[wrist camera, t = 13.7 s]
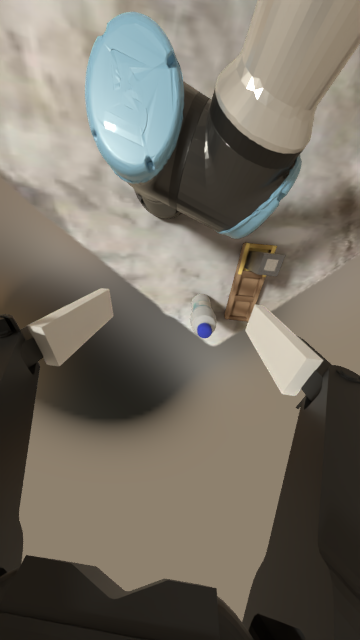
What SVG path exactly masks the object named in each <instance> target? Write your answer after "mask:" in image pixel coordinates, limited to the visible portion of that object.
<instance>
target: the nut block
mask: <svg viewBox="0 0 360 640" xmlns="http://www.w3.org/2000/svg"><path fill="white" fill-rule="evenodd" d="M284 258H285V255H281V254H274V253H267V252H258V251H249V252H248V256H247V259H246V262H245V266H244V268H246V269H248V270H250V271H252V272H254V273H256V274H258V275H268V276H277V275H278V273H279V270H280V268H281V265H282V263H283V260H284Z"/></svg>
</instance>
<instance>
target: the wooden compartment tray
mask: <svg viewBox="0 0 360 640" xmlns="http://www.w3.org/2000/svg"><path fill="white" fill-rule="evenodd" d="M276 248H277V246H273V245H262V244H252V243H243V246H242V250H241V254H240V258H239V261H238V265H237V269H236V273H235V277H234V280H233V284H232V288H231V292H230V296H229V299H228V303H227V307H226V311H225V314H224V316H225V319H230V320H239V321H248V322H249V319H250V316H251V313H252V311H253V308H254V305H255V304H256V302H257V299H258V296H259V293H260V291H261V288H262V285H263V283H264V280H265V277H266V275H258V274H256V273H254V272H252V271H250V270H248V269H246V268H244V266H245V262H246V259H247V256H248V252H249V251H258V252H267V253H275V251H276Z"/></svg>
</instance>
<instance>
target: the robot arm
mask: <svg viewBox="0 0 360 640" xmlns="http://www.w3.org/2000/svg"><path fill="white" fill-rule="evenodd" d="M359 44H360V0H258V1H257V4H256V8H255V11H254V14H253V17H252V20H251V24H250V27H249V30H248V33H247V36H246V40H245V43H244V46H243V49H242V51H241V53H240V54H239V55H238V56H237V57H236V58H235V59H234V60H233V61H232V62H231V63H230V64H229V65H228V66H227V67H226V68H225V69H224V70H223V71H222V72H221V73H220V74H219V76H218V79H217V82H216V86H215V90H214V94H213V97H212V100H211V99H210V98H208V97H206V96H205V95H203V94H202V93H200V92H199V91H197V90H196V89H194V88H193V87H191V86H190V85H188V84H187V83H185V82H184V81H183V77H182V73H181V69H180V65H179V63H178V61H177V58H176V55H175V53H174V50H173V48H172V45H171V43H170V41H169V39H168V38H167V36H166V34H165V33H164V32H163V30H162V29H161V28H160V26H159V25H158V24H157V23H156V22H155V21H154V20H152V19H151V18H150V17H148V16H146V15H143V14H141V13H137V12H126V13H122V14H120V15H118V16H116V17H115V18H113V19H112V20H111V21H110V22H108V23H107V27H106V31H105V33H104V34H103V35H102V36H98V37H97V39H96V41H95V43H94V45H93V48H92V51H91V54H90V57H89V61H88V66H87V72H86V82H85V100H86V110H87V116H88V121H89V125H90V129H91V132H92V135H93V137H94V140H95V142H96V144H97V147H98V149H99V151H100V153H101V155H102V156H103V158H104V159H105V161H106V162H107V163H108V164H109V165H110V167H111V168H112V170H113V171H114V172H115V174H116V175H118V176H119V177H120V178H121V179H122V180H124V181H126V182H127V183H128V184H129V185H131V186H132V187H133V188H134V190H135V193H136V195H137V197H138V199H139V201H140V202H141V204H142V205H143V206H144V208H145V209H146V210H147V211H149V212H150V213H151V214H153V215H155V216H157V217H160V218H173V217H175V216H177V215H179V214H181V213H183V214H185V215H187V216H189V217H191V218H193V219H194V220H196V221H198V222H200V223H202V224H204V225H206V226H208V227H210V228H212V229H214V230H215V231H216V232H217V233H220V234H224V235H227V236H229V237H231V238H235V239H238V238H243V237H245V236H247V235H249V234H250V233H252V232H253V231H254V230H256V229H257V228H258V227H259V226H260V225H261V224H262V223H263V222H264V221H265V220H266V219H267V218H268V217H269V216H270V215H271V214H272V213H273V212H274V211H275V209H276V208H277V207H278V205H279V202H280V200H281V199H282V198H283V197H285V196H286V195H287V193H288V192H289V190H290V189H291V187H292V186H293V184H294V182H295V181H296V179H297V177H298V174H299V172H300V169H301V163H302V161H301V158H300V153H301V152H302V151H303V149H304V148H305V147H306V145H307V144H308V143H309V141H310V138H311V133H312V127H313V120H314V114H315V111H316V108H317V105H318V104H319V102H320V101H321V99H322V98H323V97H324V95H325V94H326V92H327V91H328V89H329V88H330V86H331V85H332V83H333V82H334V81H335V79H336V78H337V76H338V75H339V73H340V72H341V70H342V69H343V68H344V66H345V65H346V63H347V62H348V60H349V59H350V57H351V56H352V54H353V53H354V52H355V50H356V49H357V47H358V46H359ZM112 317H113V309H112V303H111V297H110V291H109V289H103V288H101V289H99V290H97V291H95V292H93V293H91V294H89V295H87V296H85V297H83V298H81V299H79V300H77V301H75V302H73V303H71V304H69V305H67V306H65V307H63V308H61V309H59V310H57V311H55V312H53V313H51V314H49V315H47V316H45V317H43V318H41V319H39V320H37V321H35V322H33V323H31V324H29V325H27V327H25V328H23V329H21V330H20V329H19V327H18V325H17V323H16V321H15V319H14V318H13V316H12V315H6V314H4V315H0V640H360V376H359V375H358V374H356V373H354V372H353V371H350V370H349V369H346V368H344V367H341V366H336V365H331V364H330V363H329V362H328V361H327V360H326V359H325V358H323V357H322V356H321V355H320V354H319V353H318V352H317V351H315V349H313V348H312V347H311V346H310V345H309V344H308V343H307V342H306V341H304V340H303V339H301V338H300V337H298V336H296V335H295V334H294V333H293V332H292V331H291V330H290V329H289V328H288V327H286V326H285V325H284V324H283V323H282V322H281V321H280V320H279V319H278V318H277V317H276V316H274V315H273V314H272V313H271V312H270V311H269V310H268V309H267V308H266V307H265V306H264V305H254V308H253V311H252V313H251V316H250V319H249V322H248V324H247V327H246V330H245V331H246V333H247V334H248V336H249V338H250V340H251V341H252V343H253V345H254V347H255V348H256V350H257V352H258V354H259V355H260V357H261V359H262V360H263V362H264V364H265V366H266V367H267V369H268V371H269V373H270V374H271V376H272V378H273V379H274V381H275V383H276V385H277V386H278V388H279V390H280V392H281V393H282V394H284V395H292V396H296V395H297V394H298V392H299V391H300V390H301V389H302V390H303V392H304V393H305V394H306V396H305V397H304V398H303V399H302V401H301V402H300V403H299V404H298V405H297V407H296V408H297V409H299V407H301V408H300V412H299V416H298V421H297V425H296V429H295V434H294V438H293V442H292V446H291V451H290V455H289V459H288V464H287V468H286V472H285V476H284V480H283V485H282V489H281V493H280V497H279V502H278V506H277V510H276V515H275V519H274V523H273V527H272V532H271V536H270V540H269V545H268V549H267V552H266V556H265V558H264V561H263V562H262V564H261V566H260V567H259V569H258V571H257V573H256V575H255V578H254V580H253V584H252V587H251V590H250V594H249V598H248V603H247V606H246V610H245V614H244V618H243V622H241V621H240V619H239V618H238V617H237V615H236V614H235V613H234V612H233V611H232V610H231V609H230V608H229V606H227V605H226V603H225V602H224V601H223V600H221V599H220V598H219V597H218V596H217V591H216V588H212V587H207V586H203V585H199V584H193V583H187V582H181V581H176V580H170V579H162V580H159V581H157V582H154V583H151V584H148V585H146V586H143V587H140V588H138V589H135V590H132V591H124V590H123V589H122V588H121V587H119V586H118V585H117V584H116V583H115V582H114V581H112V580H111V579H110V578H109V577H108V576H107V575H106V574H104V573H103V572H102V571H101V570H100V569H99V568H97V567H95V566H90V565H84V564H78V563H72V562H66V561H61V560H54V559H48V558H40V557H34V556H28V555H26V556H25V558H24V560H23V562H22V564H21V561H22V552H23V532H22V528H21V525H20V521H19V507H20V500H21V493H22V486H23V479H24V473H25V466H26V459H27V452H28V445H29V438H30V431H31V424H32V418H33V410H34V404H35V397H36V391H37V383H38V377H39V370H40V365H39V363H38V361H39V360H40V359H42V358H44V360H45V361H46V363H47V365H54V366H60V365H61V364H62V363H63V362H65V360H67V359H68V358H69V357H70V356H71V355H72V354H73V353H74V352H75V351H76V350H77V349H78V348H80V347H81V346H82V345H83V344H84V343H85V342H86V341H87V340H88V339H89V338H90V337H91V336H93V335H94V333H96V332H97V331H98V330H99V329H100V328H101V327H102V326H103V325H104V324H105V323H106V322H107V321H109V320H110V319H111V318H112Z"/></svg>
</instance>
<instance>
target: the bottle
mask: <svg viewBox="0 0 360 640" xmlns="http://www.w3.org/2000/svg"><path fill="white" fill-rule="evenodd" d="M191 305H192V313H191V317H190V323H191V326H192V330H193V331H194V332H195V333H196V334H198V335H199V336H200V337H202V338H208V337H209V336H210V335H211V334H212V332H213V331H214V330H215V328H216V316H215V313H214V312H213V310H212V307H211V301H210V299H209V297H208V296H207V295H205V294H197V295H196V296H195V297H194V298H193V299H192V303H191Z"/></svg>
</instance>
